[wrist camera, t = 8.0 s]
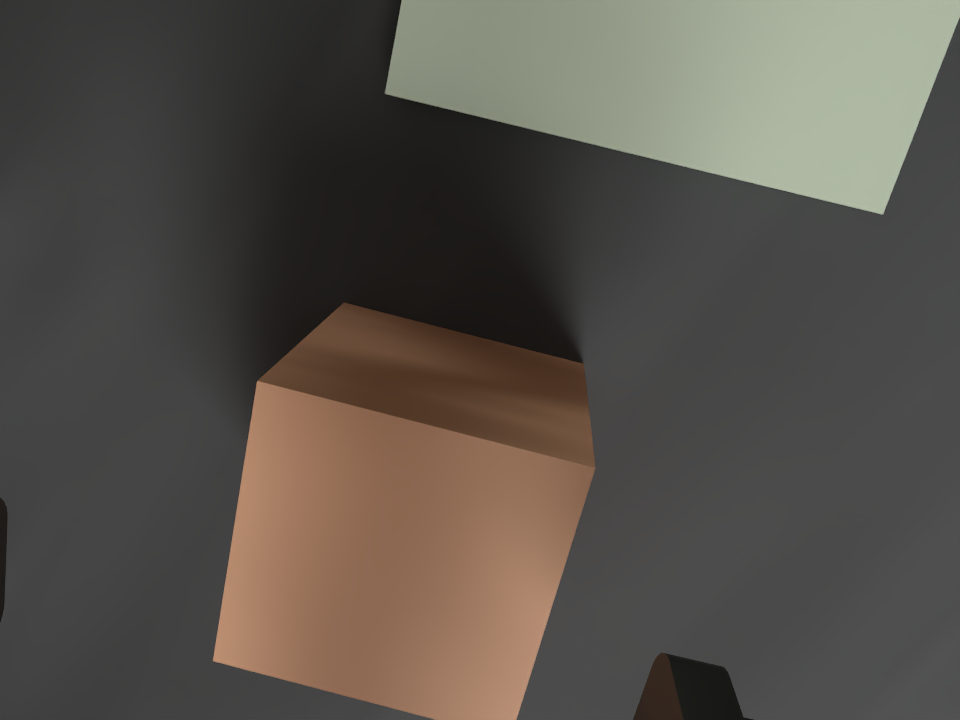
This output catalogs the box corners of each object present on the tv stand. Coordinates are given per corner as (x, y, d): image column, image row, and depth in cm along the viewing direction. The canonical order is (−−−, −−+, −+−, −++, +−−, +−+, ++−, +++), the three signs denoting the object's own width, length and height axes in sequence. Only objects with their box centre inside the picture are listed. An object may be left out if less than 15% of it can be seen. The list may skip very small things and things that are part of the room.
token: (583, 362, 14) (595, 467, 10) (522, 569, 16) (510, 738, 12) (345, 301, 15) (257, 380, 10) (305, 513, 16) (213, 660, 12)
